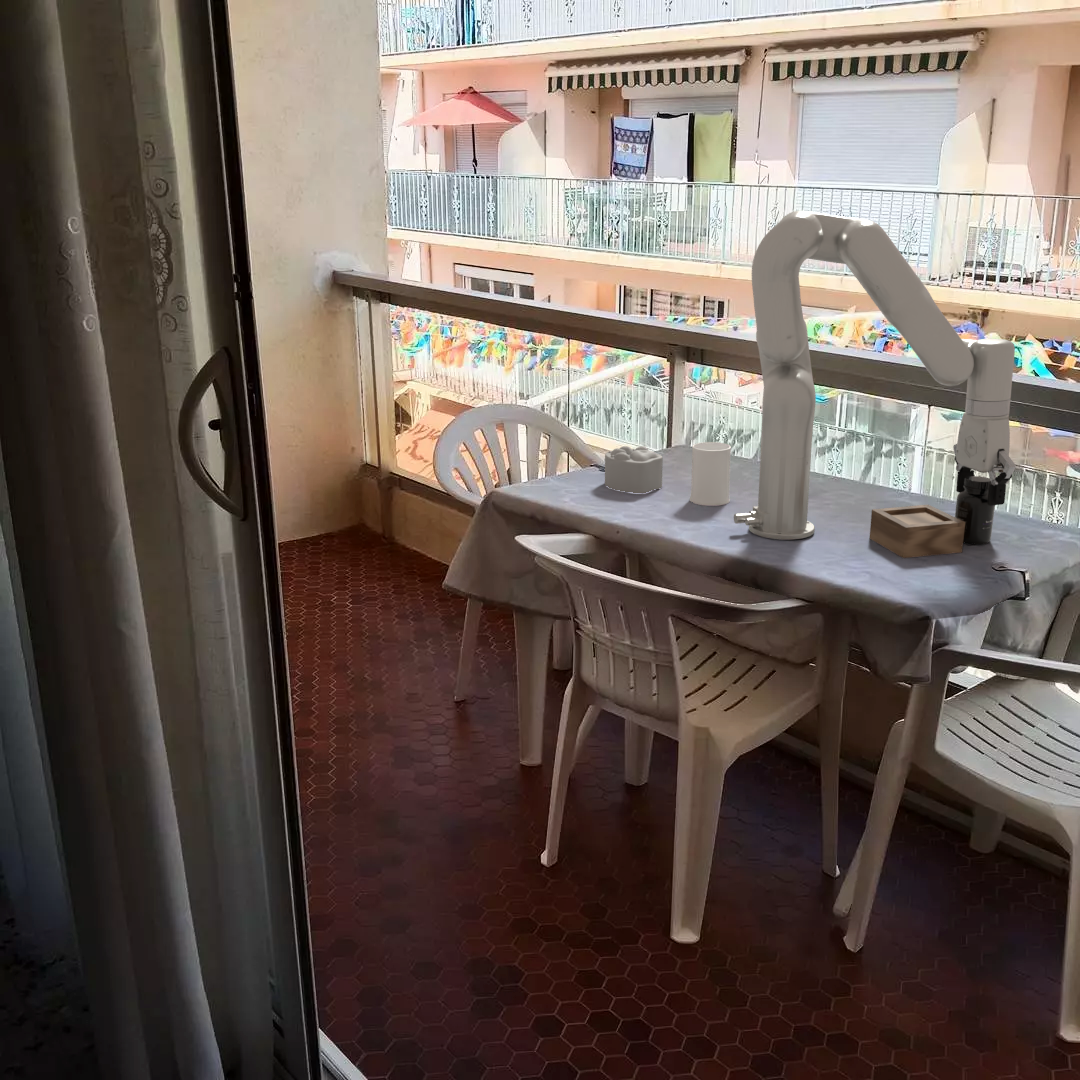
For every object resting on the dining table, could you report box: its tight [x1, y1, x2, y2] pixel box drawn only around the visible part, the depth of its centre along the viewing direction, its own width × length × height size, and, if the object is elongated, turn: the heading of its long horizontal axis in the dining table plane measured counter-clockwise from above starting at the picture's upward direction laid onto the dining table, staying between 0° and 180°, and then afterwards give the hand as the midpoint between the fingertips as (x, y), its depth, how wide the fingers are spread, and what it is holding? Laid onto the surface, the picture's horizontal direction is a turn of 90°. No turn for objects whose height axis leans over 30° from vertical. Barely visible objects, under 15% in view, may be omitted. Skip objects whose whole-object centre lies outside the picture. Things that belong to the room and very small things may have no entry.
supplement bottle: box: [954, 475, 996, 546], centre depth 209 cm, size 7×7×12 cm
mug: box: [689, 441, 732, 507], centre depth 238 cm, size 12×8×12 cm
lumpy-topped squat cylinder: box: [604, 445, 664, 493], centre depth 250 cm, size 10×13×9 cm
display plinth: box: [868, 504, 965, 559], centre depth 207 cm, size 12×12×6 cm
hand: (979, 497), depth 208 cm, fingers open, 9 cm apart
